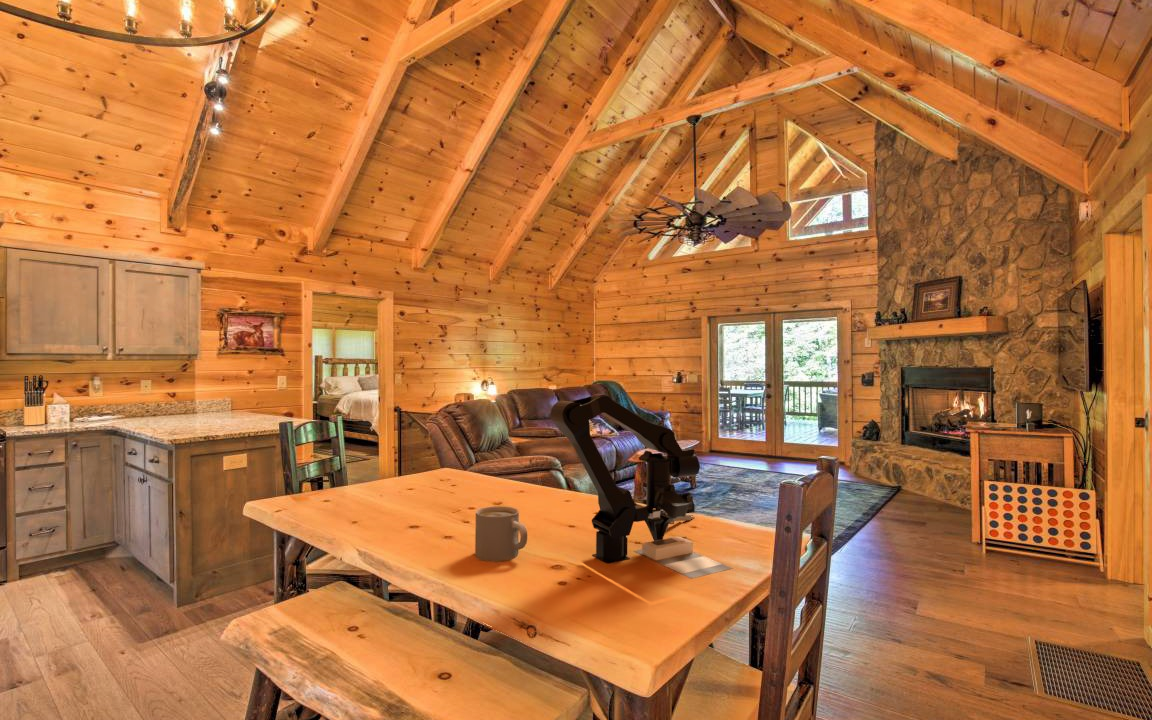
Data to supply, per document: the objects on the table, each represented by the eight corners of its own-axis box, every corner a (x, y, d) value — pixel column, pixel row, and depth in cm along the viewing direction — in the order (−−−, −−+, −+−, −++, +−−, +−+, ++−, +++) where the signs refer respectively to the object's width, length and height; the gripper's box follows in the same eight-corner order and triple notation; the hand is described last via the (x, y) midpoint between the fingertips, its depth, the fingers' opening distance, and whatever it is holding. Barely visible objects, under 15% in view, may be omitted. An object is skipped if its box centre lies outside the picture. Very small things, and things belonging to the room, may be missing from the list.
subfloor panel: (691, 580, 117) (691, 578, 117) (633, 552, 134) (633, 550, 134) (733, 570, 123) (733, 568, 123) (672, 545, 140) (672, 543, 140)
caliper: (662, 535, 149) (663, 511, 149) (659, 534, 150) (659, 510, 150) (694, 519, 166) (695, 497, 166) (691, 518, 166) (691, 497, 166)
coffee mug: (466, 554, 132) (467, 511, 132) (500, 545, 139) (501, 504, 139) (502, 568, 122) (503, 522, 123) (536, 558, 129) (537, 514, 130)
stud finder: (655, 560, 127) (655, 548, 127) (642, 553, 132) (642, 542, 132) (692, 552, 133) (692, 541, 133) (678, 546, 137) (678, 535, 137)
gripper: (649, 489, 124) (648, 561, 124) (711, 481, 133) (710, 547, 133) (619, 480, 133) (618, 547, 133) (679, 473, 143) (678, 535, 143)
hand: (658, 544), depth 135 cm, fingers closed
